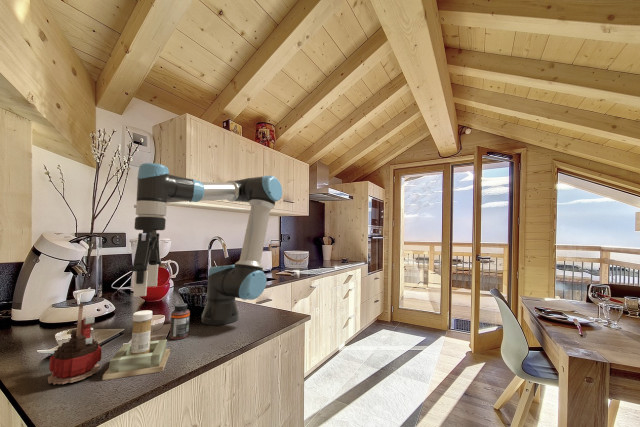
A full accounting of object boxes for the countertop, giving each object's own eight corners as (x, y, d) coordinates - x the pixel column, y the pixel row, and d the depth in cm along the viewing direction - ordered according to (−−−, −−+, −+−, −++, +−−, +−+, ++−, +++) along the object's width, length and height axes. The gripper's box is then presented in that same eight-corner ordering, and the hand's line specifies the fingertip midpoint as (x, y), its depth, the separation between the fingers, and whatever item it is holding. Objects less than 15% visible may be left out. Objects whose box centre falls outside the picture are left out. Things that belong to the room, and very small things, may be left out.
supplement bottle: (170, 335, 95) (172, 303, 96) (189, 333, 97) (190, 301, 98) (168, 341, 89) (170, 307, 90) (187, 338, 92) (189, 305, 93)
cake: (45, 376, 66) (53, 303, 68) (93, 363, 73) (99, 297, 75) (50, 393, 59) (58, 311, 61) (102, 376, 67) (109, 304, 68)
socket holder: (170, 352, 81) (170, 338, 81) (162, 371, 70) (163, 354, 70) (119, 359, 76) (120, 344, 76) (102, 380, 65) (104, 362, 65)
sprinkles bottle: (149, 357, 75) (152, 308, 76) (149, 363, 71) (152, 312, 72) (129, 361, 73) (133, 311, 74) (128, 368, 69) (132, 315, 70)
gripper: (146, 218, 87) (142, 283, 85) (121, 213, 64) (114, 302, 62) (172, 219, 90) (168, 282, 88) (156, 214, 66) (151, 300, 65)
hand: (146, 290), depth 75 cm, fingers open, 13 cm apart
